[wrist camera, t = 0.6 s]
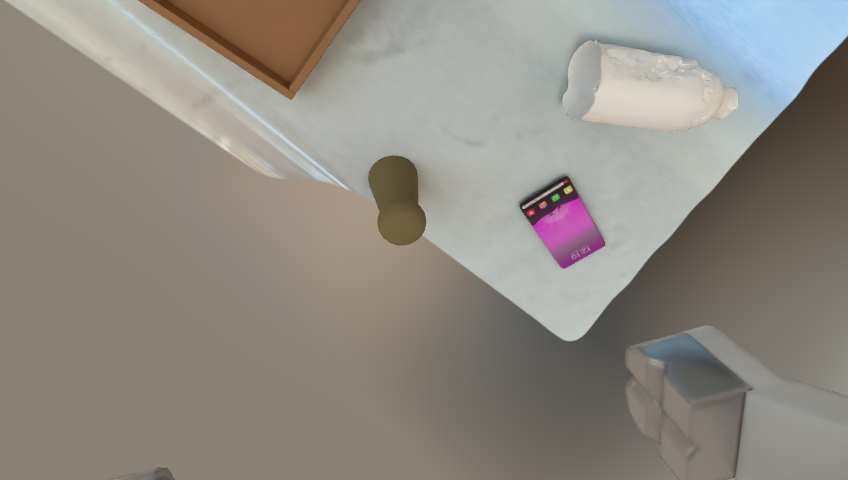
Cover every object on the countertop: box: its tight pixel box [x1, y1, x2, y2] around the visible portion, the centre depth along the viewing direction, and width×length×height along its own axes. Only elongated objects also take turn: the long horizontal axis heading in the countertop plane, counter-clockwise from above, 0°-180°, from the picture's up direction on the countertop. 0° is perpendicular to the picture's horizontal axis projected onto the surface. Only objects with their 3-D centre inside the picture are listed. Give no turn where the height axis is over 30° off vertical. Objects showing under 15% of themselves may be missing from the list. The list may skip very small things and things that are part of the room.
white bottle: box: [562, 40, 739, 132], centre depth 54 cm, size 8×19×8 cm, turn 79°
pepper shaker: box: [368, 156, 426, 245], centre depth 55 cm, size 6×6×11 cm
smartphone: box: [520, 177, 605, 269], centre depth 68 cm, size 7×15×1 cm, turn 34°
